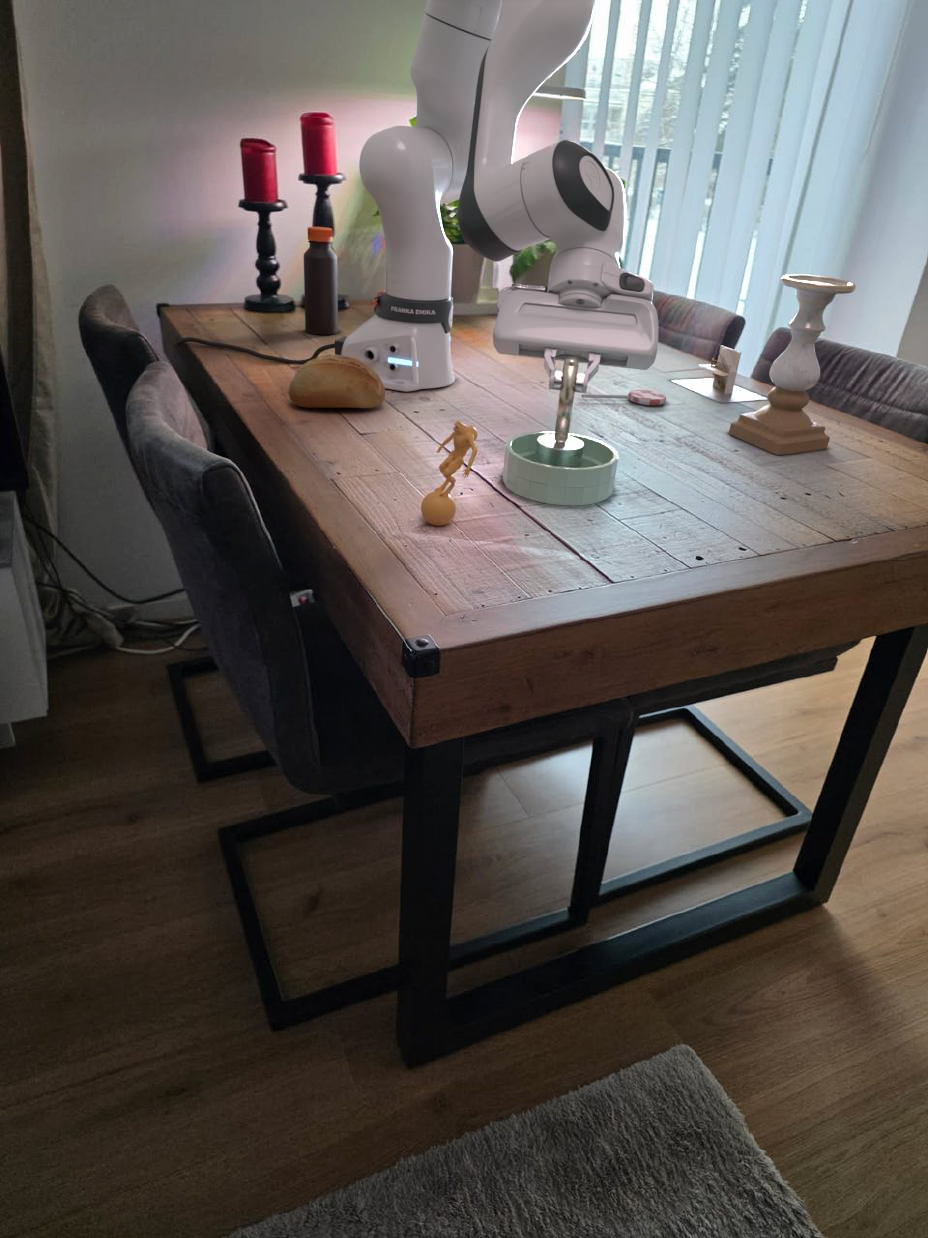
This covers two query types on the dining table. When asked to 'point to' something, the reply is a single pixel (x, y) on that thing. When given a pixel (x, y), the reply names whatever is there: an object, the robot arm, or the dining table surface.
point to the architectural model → (721, 380)
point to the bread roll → (336, 384)
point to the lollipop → (636, 397)
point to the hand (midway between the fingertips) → (567, 388)
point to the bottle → (320, 283)
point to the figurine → (439, 503)
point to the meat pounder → (562, 427)
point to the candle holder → (794, 375)
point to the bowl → (560, 472)
